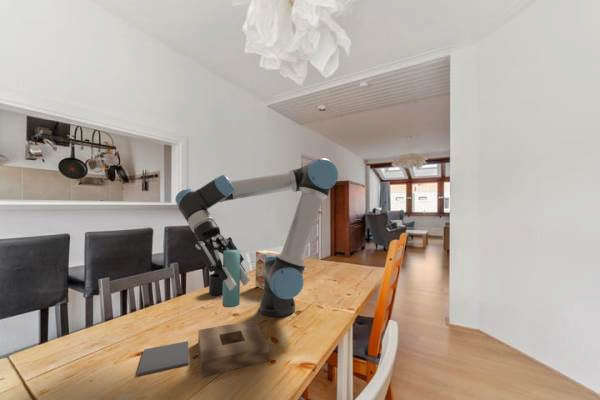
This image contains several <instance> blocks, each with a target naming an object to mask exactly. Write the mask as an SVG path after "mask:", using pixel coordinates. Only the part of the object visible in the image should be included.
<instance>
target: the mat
mask: <svg viewBox="0 0 600 400" xmlns="http://www.w3.org/2000/svg"><path fill="white" fill-rule="evenodd" d="M183 366H189V340H187V341H181V342H175V343H171V344H165V345H161V346H155V347H154V346H153V347H150V348H145V349H143V351H142V356H141V359H140V362H139V365H138V370H137V372H136V377H139V376H143V375H147V374H152V373H157V372H161V371H165V370H169V369H175V368H180V367H183Z"/></svg>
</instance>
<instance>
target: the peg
mask: <svg viewBox="0 0 600 400" xmlns="http://www.w3.org/2000/svg"><path fill="white" fill-rule="evenodd" d="M240 254H241V250H239V249H237V250H226V251H223V254H222V265H223V267H226V268H227V270H228V271H229V273H230V274H231V276H232V278H233V279H234V281H235V283H236V284H237V285H236V286H235V287H234V289H233V290H231V291H230V290H229V289H228V287H227V285H226V283H225V282H224V281H223V295H222V300H221V301H222V307H224V308H236V307H238V306H240V300H241V299H240V296H241V295H240V293H241V291H240V288H241V287H240V286H241V281H240ZM223 267H222V268H223Z"/></svg>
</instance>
